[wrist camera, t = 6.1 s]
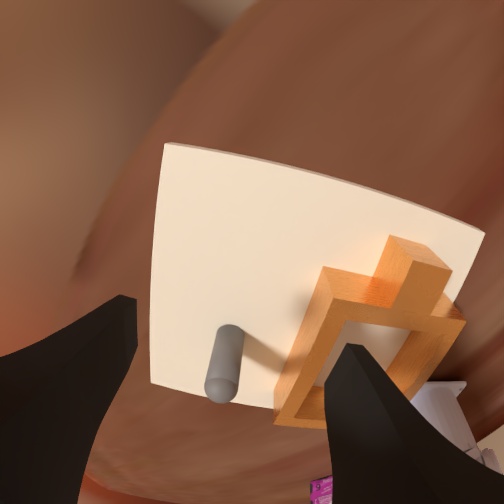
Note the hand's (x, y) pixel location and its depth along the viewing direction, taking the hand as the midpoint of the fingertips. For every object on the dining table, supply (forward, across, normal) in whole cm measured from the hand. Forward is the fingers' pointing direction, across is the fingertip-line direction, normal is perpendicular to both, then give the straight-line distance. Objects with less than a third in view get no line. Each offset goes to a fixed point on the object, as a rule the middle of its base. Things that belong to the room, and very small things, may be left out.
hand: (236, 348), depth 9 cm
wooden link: (+9, -10, +7) cm, 15 cm away
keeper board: (+10, -5, +6) cm, 13 cm away
